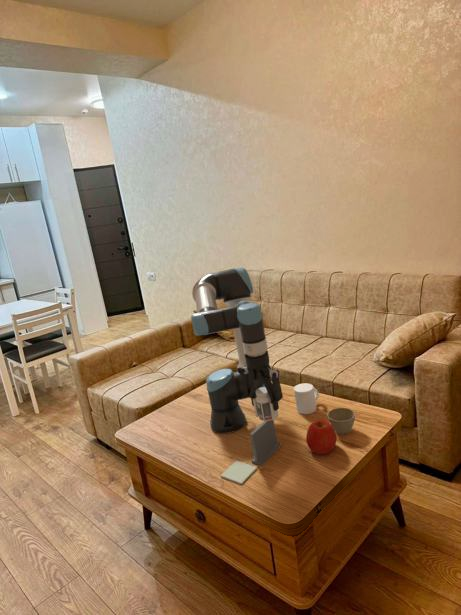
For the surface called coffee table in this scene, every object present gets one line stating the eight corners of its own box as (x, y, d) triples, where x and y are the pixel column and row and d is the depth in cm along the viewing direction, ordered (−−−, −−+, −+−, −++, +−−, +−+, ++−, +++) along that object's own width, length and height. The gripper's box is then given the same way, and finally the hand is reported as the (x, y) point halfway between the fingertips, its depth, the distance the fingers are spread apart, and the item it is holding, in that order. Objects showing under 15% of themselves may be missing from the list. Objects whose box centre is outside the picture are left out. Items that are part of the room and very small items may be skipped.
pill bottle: (278, 412, 139) (273, 386, 136) (273, 422, 134) (268, 394, 131) (261, 412, 141) (257, 385, 139) (256, 421, 136) (251, 394, 134)
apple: (339, 457, 143) (336, 429, 140) (308, 458, 145) (304, 432, 142) (336, 438, 153) (333, 413, 150) (307, 440, 155) (303, 415, 152)
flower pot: (358, 437, 151) (356, 420, 150) (330, 439, 154) (327, 422, 152) (355, 423, 161) (353, 406, 159) (329, 424, 163) (327, 408, 161)
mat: (221, 476, 144) (220, 475, 144) (236, 462, 150) (236, 460, 150) (241, 484, 138) (241, 483, 138) (257, 468, 145) (256, 467, 144)
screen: (252, 462, 148) (246, 433, 145) (271, 443, 158) (267, 414, 155) (261, 465, 146) (255, 435, 143) (280, 445, 155) (276, 417, 152)
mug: (289, 389, 175) (308, 378, 182) (293, 410, 178) (311, 399, 185) (304, 394, 169) (323, 382, 176) (307, 416, 171) (326, 404, 178)
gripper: (225, 354, 134) (237, 417, 140) (275, 359, 123) (286, 428, 129) (238, 345, 140) (249, 406, 146) (287, 349, 129) (297, 415, 135)
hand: (267, 416), depth 138 cm, fingers closed on pill bottle, 6 cm apart
